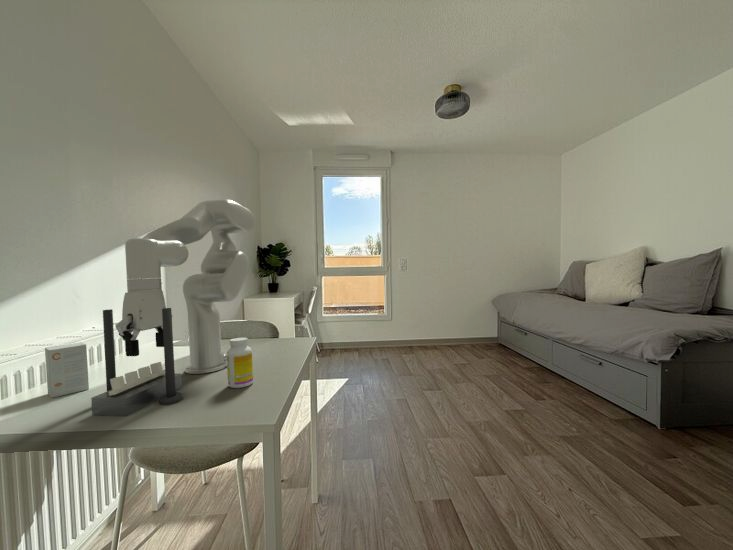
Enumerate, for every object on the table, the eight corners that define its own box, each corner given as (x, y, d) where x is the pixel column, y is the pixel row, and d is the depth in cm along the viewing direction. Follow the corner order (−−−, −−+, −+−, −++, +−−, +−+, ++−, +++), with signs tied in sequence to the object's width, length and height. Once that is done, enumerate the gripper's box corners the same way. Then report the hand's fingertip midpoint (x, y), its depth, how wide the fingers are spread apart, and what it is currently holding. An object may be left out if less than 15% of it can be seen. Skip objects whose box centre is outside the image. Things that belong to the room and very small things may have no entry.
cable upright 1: (123, 394, 90) (119, 308, 90) (124, 399, 86) (119, 309, 86) (100, 399, 87) (95, 310, 87) (99, 405, 83) (94, 311, 83)
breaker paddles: (160, 374, 93) (157, 362, 94) (167, 372, 93) (164, 360, 93) (107, 396, 78) (104, 381, 78) (116, 394, 77) (113, 379, 77)
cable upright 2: (181, 395, 88) (176, 306, 87) (184, 400, 84) (179, 308, 83) (158, 400, 85) (153, 308, 84) (160, 406, 81) (155, 310, 80)
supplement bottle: (258, 382, 96) (256, 337, 96) (240, 390, 90) (238, 342, 90) (241, 379, 99) (238, 336, 99) (222, 387, 93) (220, 341, 93)
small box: (84, 385, 100) (82, 341, 99) (89, 389, 95) (86, 344, 95) (46, 393, 93) (44, 347, 93) (50, 398, 89) (47, 350, 89)
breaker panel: (153, 387, 95) (152, 373, 95) (181, 387, 94) (181, 373, 94) (92, 415, 77) (91, 397, 77) (126, 416, 76) (125, 398, 76)
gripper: (157, 284, 97) (160, 343, 97) (101, 288, 80) (105, 360, 80) (180, 283, 96) (183, 343, 96) (129, 287, 79) (133, 360, 79)
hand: (148, 351), depth 88 cm, fingers open, 9 cm apart
